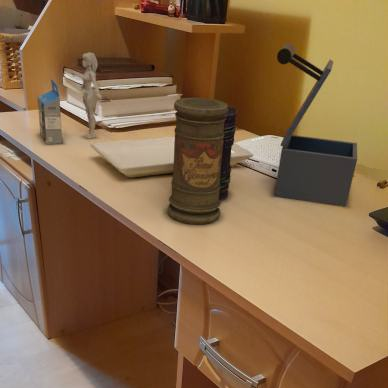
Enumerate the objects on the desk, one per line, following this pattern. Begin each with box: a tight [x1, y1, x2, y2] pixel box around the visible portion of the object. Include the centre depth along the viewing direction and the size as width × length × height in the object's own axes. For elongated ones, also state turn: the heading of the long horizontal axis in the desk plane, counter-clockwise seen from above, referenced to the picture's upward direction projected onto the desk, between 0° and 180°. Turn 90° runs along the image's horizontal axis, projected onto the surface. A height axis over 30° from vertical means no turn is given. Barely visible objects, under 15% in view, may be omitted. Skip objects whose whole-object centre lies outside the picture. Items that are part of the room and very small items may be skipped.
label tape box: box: [37, 78, 63, 145], centre depth 118 cm, size 9×4×12 cm, turn 23°
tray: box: [89, 135, 254, 178], centre depth 111 cm, size 17×31×4 cm, turn 119°
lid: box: [276, 43, 334, 147], centre depth 94 cm, size 14×12×9 cm
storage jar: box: [219, 105, 238, 202], centre depth 94 cm, size 10×10×15 cm
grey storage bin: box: [274, 134, 358, 207], centre depth 101 cm, size 14×12×9 cm
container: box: [167, 97, 229, 225], centre depth 84 cm, size 9×9×18 cm
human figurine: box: [79, 51, 104, 139], centre depth 120 cm, size 12×4×18 cm, turn 29°
